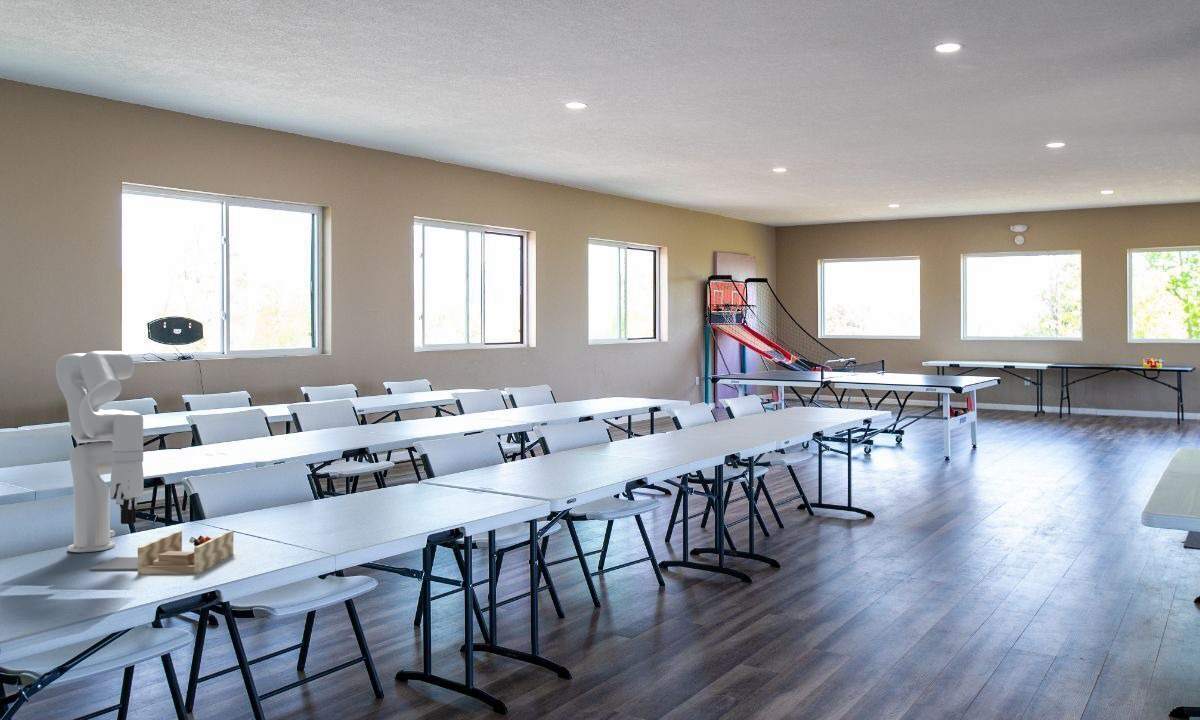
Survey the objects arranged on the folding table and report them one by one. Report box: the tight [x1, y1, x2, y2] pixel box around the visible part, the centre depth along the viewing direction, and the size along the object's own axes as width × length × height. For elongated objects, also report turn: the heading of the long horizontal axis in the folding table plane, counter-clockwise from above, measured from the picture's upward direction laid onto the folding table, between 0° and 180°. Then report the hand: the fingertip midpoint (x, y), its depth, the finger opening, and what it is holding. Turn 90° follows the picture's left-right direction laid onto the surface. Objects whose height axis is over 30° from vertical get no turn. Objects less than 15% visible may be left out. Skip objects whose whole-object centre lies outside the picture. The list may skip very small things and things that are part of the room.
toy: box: [188, 535, 212, 547], centre depth 264 cm, size 8×6×15 cm
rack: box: [137, 530, 234, 575], centre depth 252 cm, size 24×16×7 cm, turn 1°
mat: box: [88, 556, 138, 572], centre depth 251 cm, size 14×14×1 cm
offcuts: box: [153, 550, 194, 566], centre depth 245 cm, size 6×10×4 cm, turn 91°
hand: (128, 523), depth 251 cm, fingers closed
